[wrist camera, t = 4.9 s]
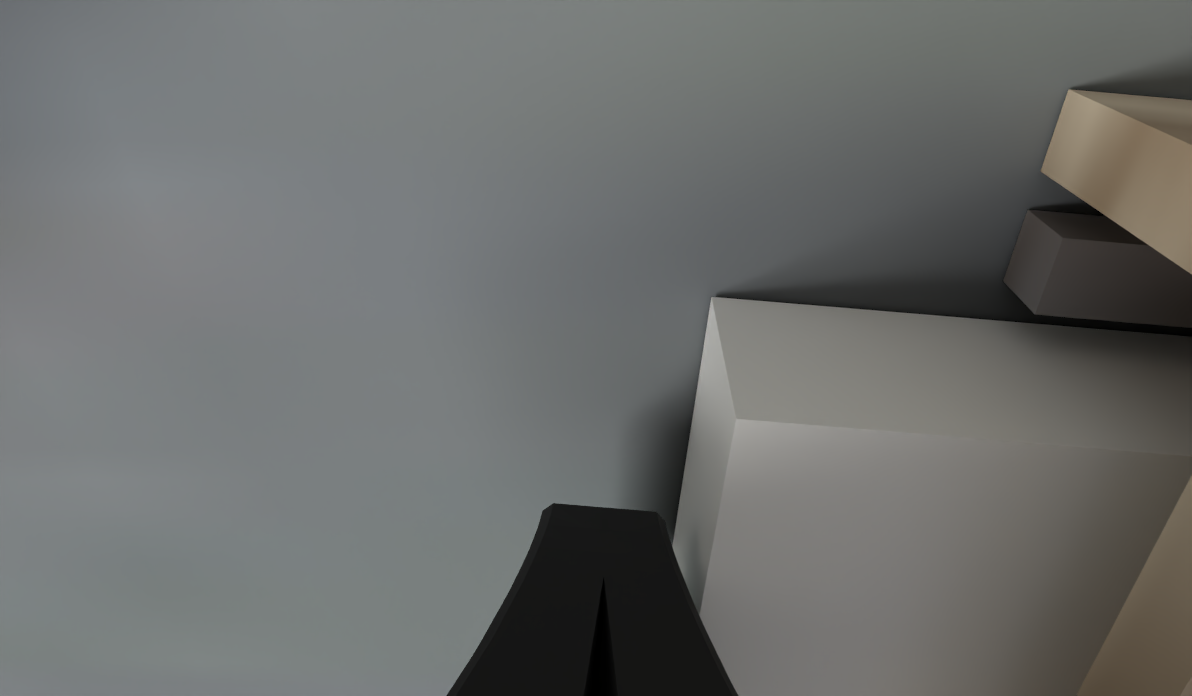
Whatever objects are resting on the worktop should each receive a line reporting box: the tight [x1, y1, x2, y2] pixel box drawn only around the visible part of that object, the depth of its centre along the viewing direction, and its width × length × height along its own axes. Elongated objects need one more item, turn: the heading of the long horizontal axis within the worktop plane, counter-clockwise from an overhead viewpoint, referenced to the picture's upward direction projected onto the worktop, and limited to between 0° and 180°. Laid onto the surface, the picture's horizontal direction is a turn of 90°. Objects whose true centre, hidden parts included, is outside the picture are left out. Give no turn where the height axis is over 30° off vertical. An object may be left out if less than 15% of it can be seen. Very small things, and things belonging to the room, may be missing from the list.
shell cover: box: [672, 297, 1192, 696], centre depth 10 cm, size 6×6×2 cm
